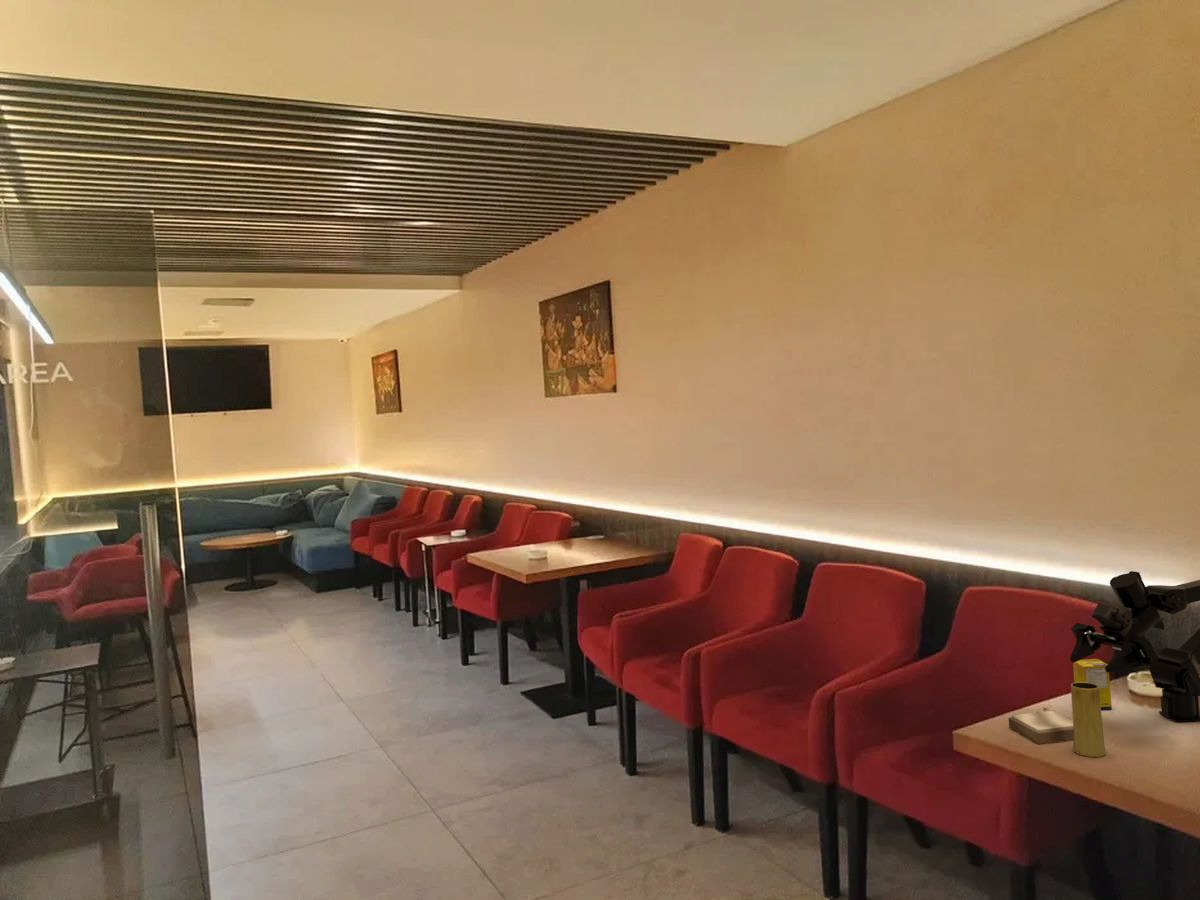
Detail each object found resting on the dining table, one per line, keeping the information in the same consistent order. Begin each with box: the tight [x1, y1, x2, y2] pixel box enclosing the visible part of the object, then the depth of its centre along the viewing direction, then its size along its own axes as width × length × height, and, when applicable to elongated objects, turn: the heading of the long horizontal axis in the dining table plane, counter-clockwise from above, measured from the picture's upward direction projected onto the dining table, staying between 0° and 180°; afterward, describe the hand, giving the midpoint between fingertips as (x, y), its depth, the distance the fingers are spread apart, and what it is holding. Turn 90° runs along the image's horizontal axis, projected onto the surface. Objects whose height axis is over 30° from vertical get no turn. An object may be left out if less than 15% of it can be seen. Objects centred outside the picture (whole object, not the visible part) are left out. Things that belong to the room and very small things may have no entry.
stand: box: [1008, 710, 1073, 745], centre depth 192 cm, size 11×11×3 cm
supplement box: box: [1072, 658, 1113, 711], centre depth 206 cm, size 6×6×11 cm
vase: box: [1070, 682, 1107, 758], centre depth 179 cm, size 6×6×14 cm
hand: (1088, 665), depth 187 cm, fingers open, 9 cm apart
